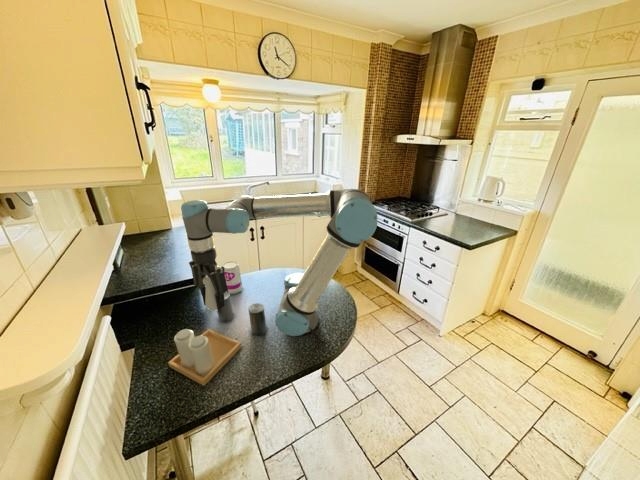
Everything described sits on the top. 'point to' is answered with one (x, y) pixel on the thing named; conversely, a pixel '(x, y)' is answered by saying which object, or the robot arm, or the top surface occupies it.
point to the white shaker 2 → (201, 355)
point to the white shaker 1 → (184, 347)
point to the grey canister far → (226, 309)
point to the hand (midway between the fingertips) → (214, 304)
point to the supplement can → (232, 277)
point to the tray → (220, 352)
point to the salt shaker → (210, 294)
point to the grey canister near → (257, 319)
